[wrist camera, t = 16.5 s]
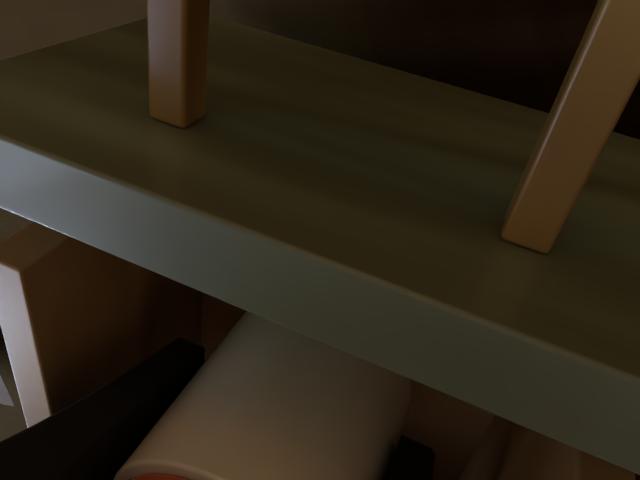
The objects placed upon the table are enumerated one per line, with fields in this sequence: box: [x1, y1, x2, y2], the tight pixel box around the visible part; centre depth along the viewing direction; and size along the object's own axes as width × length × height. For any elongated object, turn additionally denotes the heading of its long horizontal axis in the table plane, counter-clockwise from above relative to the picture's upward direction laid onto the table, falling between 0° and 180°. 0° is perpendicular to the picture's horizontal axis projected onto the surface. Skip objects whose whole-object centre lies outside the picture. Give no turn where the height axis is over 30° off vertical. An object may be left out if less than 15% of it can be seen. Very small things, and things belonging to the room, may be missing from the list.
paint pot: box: [113, 311, 412, 480], centre depth 11 cm, size 4×4×5 cm
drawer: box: [0, 0, 640, 480], centre depth 11 cm, size 18×11×7 cm, turn 170°
